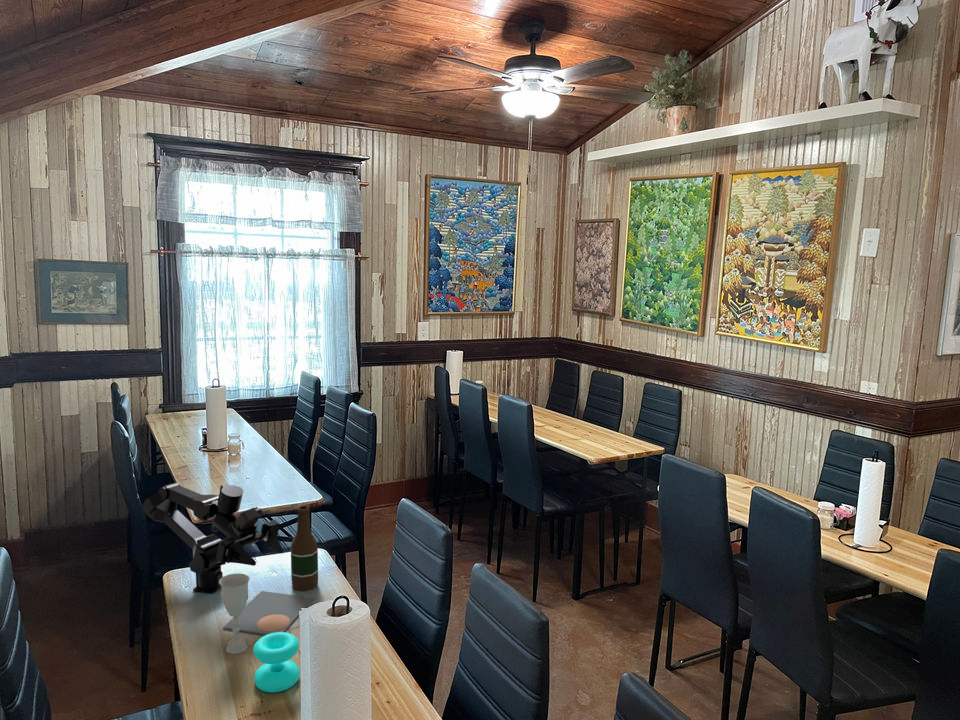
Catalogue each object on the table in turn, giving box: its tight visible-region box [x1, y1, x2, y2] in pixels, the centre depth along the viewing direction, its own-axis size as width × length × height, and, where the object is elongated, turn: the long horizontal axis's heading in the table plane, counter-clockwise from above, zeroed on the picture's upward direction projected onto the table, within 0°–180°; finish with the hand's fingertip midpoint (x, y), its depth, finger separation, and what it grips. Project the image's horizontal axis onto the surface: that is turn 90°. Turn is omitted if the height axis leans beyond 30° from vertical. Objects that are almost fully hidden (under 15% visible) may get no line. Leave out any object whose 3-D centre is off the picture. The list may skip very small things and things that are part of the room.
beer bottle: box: [290, 505, 319, 592], centre depth 206 cm, size 8×8×24 cm
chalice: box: [219, 573, 251, 655], centre depth 174 cm, size 7×7×18 cm
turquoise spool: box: [253, 631, 300, 693], centre depth 161 cm, size 10×10×10 cm
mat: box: [222, 590, 315, 636], centre depth 191 cm, size 16×20×1 cm
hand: (269, 557), depth 188 cm, fingers open, 9 cm apart
